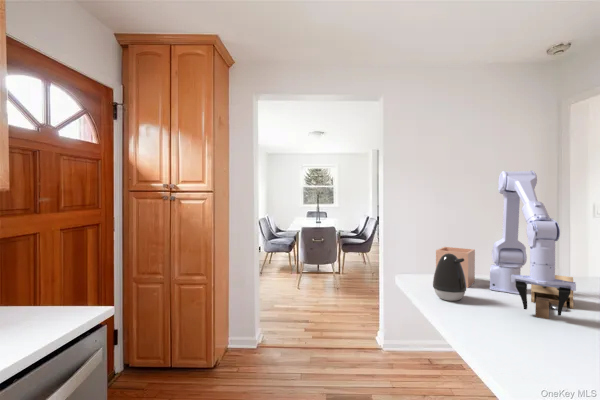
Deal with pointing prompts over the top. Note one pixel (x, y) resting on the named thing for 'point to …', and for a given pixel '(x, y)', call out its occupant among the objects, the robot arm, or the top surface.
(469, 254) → the utensil crock
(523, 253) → the robot arm
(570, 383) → the top surface
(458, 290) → the black rounded egg shape
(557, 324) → the top surface
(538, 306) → the wooden mallet
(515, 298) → the top surface
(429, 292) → the top surface
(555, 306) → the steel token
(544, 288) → the bread box
